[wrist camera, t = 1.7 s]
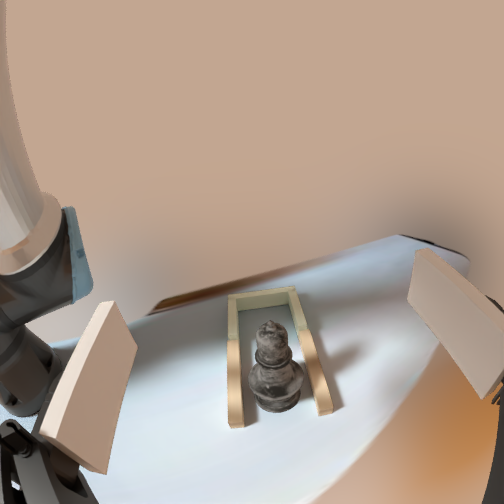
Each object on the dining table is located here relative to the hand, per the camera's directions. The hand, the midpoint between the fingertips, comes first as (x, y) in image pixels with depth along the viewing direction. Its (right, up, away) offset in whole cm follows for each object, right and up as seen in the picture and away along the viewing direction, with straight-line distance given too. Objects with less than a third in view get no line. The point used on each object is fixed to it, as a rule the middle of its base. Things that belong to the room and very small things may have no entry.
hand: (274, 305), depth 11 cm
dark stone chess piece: (+2, -14, +18) cm, 23 cm away
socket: (+1, -8, +28) cm, 29 cm away
